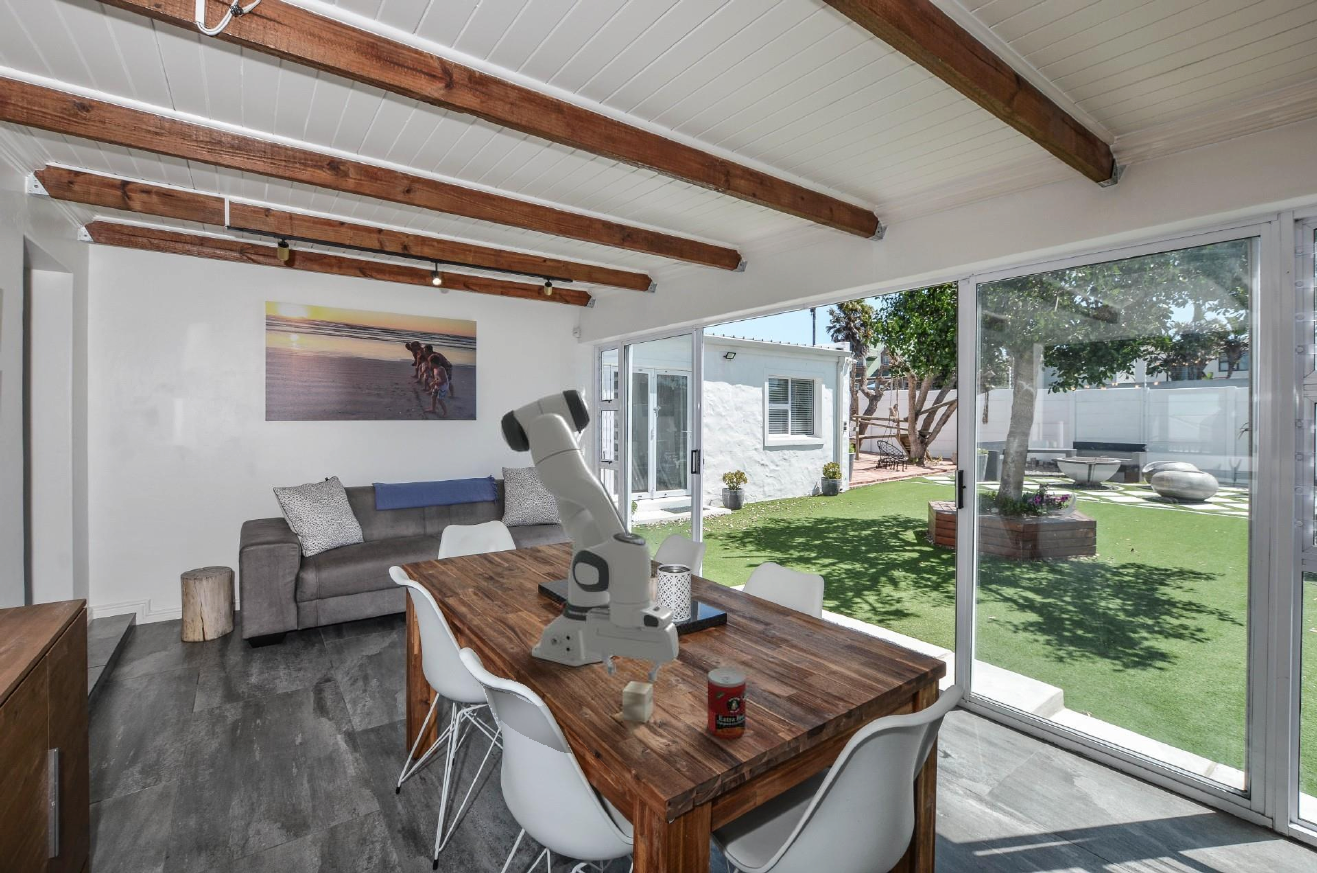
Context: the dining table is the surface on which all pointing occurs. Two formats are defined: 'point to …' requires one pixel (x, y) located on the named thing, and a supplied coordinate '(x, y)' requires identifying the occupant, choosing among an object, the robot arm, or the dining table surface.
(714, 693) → the canned food
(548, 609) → the dining table surface
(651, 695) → the birch block
